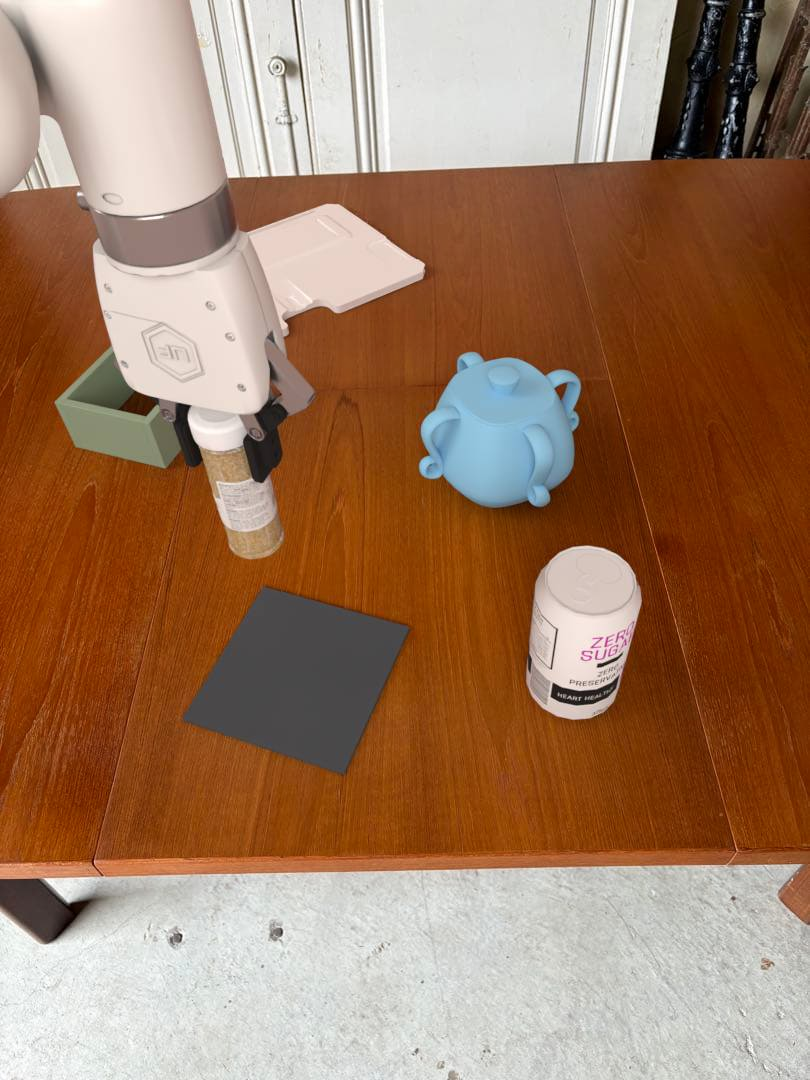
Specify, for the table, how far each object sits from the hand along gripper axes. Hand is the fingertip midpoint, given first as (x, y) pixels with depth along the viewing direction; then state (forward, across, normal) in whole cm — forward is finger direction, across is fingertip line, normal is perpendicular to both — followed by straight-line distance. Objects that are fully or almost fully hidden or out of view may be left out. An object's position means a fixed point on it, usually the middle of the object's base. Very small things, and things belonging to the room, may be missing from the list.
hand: (234, 459), depth 58 cm
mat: (+26, +2, -1) cm, 26 cm away
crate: (+26, -32, +26) cm, 49 cm away
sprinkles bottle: (+9, 0, 0) cm, 9 cm away
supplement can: (+26, +26, +6) cm, 37 cm away
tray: (+26, -29, +65) cm, 76 cm away
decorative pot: (+26, +12, +31) cm, 42 cm away
